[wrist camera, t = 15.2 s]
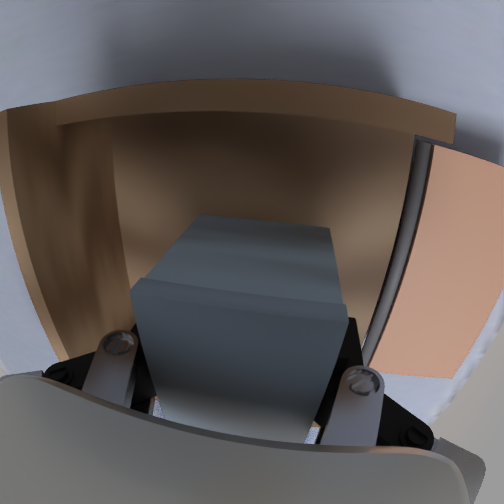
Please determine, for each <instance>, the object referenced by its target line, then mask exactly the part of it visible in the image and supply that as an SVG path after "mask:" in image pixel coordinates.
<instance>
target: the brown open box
mask: <svg viewBox="0 0 504 504" xmlns="http://www.w3.org/2000/svg"><path fill="white" fill-rule="evenodd" d="M455 124H456V114H455V113H452V112H449V111H446V110H443V109H439V108H436V107H433V106H429V105H426V104H422V103H418V102H415V101H411V100H407V99H403V98H398V97H394V96H390V95H385V94H380V93H375V92H370V91H365V90H359V89H354V88H347V87H341V86H334V85H326V84H318V83H309V82H299V81H286V80H270V79H197V80H181V81H168V82H158V83H149V84H141V85H134V86H127V87H120V88H114V89H108V90H103V91H98V92H93V93H88V94H83V95H79V96H74V97H70V98H66V99H62V100H58V101H54V102H46V103H39V104H33V105H27V106H21V107H16V108H11V109H6V110H4V111H1V112H0V189H1V194H2V200H3V205H4V210H5V214H6V219H7V223H8V227H9V231H10V235H11V239H12V243H13V246H14V250H15V253H16V256H17V260H18V263H19V266H20V269H21V272H22V275H23V278H24V281H25V284H26V287H27V289H28V292H29V295H30V297H31V300H32V302H33V305H34V307H35V310H36V312H37V315H38V317H39V319H40V322H41V324H42V326H43V328H44V331H45V333H46V335H47V337H48V339H49V341H50V343H51V346H52V348H53V350H54V352H55V354H56V356H57V357H58V359H59V361H60V362H62V361H65V360H68V359H72V358H75V357H78V356H81V355H85V354H88V353H91V352H94V351H96V350H97V348H98V345H99V342H100V341H101V339H102V338H103V337H104V336H105V335H106V334H108V333H110V332H112V331H115V330H128V331H131V329H132V328H133V326H134V325H135V323H136V320H135V316H134V312H133V307H132V303H131V298H130V293H129V291H130V290H131V288H132V287H133V286H134V285H135V284H136V282H137V281H138V280H139V279H140V278H141V277H142V278H145V276H146V275H147V274H148V273H149V272H150V270H151V269H152V268H153V267H154V266H155V265H156V263H157V262H158V261H159V260H160V259H161V258H162V257H163V255H164V254H165V253H166V252H167V251H168V250H169V248H170V247H171V246H172V245H173V244H174V243H175V242H176V241H177V239H178V238H179V237H180V236H181V235H182V234H183V233H184V232H185V230H186V229H187V228H188V227H189V226H190V225H191V224H192V223H193V222H194V221H195V219H196V218H197V217H198V216H199V215H212V216H223V217H233V218H244V219H254V220H264V221H274V222H283V223H292V224H301V225H310V226H319V227H327V228H330V233H331V238H332V243H333V248H334V253H335V259H336V264H337V270H338V275H339V281H340V287H341V294H342V300H343V304H346V307H347V313H348V317H354V318H355V319H356V322H357V327H358V333H359V339H360V344H361V346H362V343H363V340H364V338H365V335H366V332H367V330H368V327H369V324H370V321H371V318H372V315H373V313H374V310H375V307H376V304H377V301H378V297H379V294H380V291H381V288H382V285H383V281H384V278H385V275H386V271H387V268H388V264H389V261H390V257H391V253H392V250H393V246H394V242H395V238H396V234H397V230H398V226H399V221H400V217H401V212H402V208H403V203H404V198H405V193H406V188H407V182H408V177H409V171H410V165H411V159H412V152H413V145H414V137H415V135H420V136H424V137H427V138H431V139H435V140H439V141H442V142H446V143H449V144H453V140H454V132H455ZM155 400H158V397H157V396H155ZM311 427H320V426H319V425H318V424H317V423H316V422H315V421H313V423H312V426H311Z"/></svg>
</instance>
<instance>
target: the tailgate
mask: <svg viewBox="0 0 504 504" xmlns="http://www.w3.org/2000/svg"><path fill="white" fill-rule="evenodd" d="M503 287H504V167H503V166H501V165H498V164H495V163H493V162H490V161H487V160H484V159H481V158H478V157H475V156H472V155H469V154H466V153H463V152H459V151H456V150H453V149H449V148H446V147H442V146H439V145H435V144H431V143H427V142H423V141H419V140H417V141H416V149H415V155H414V162H413V168H412V174H411V180H410V185H409V190H408V195H407V200H406V205H405V210H404V214H403V219H402V223H401V227H400V231H399V235H398V239H397V243H396V247H395V251H394V255H393V258H392V262H391V265H390V269H389V272H388V276H387V279H386V282H385V285H384V289H383V292H382V295H381V298H380V301H379V304H378V307H377V310H376V313H375V316H374V319H373V321H372V324H371V327H370V330H369V332H368V335H367V338H366V340H365V343H364V346H363V348H362V357H363V364H364V366H368V367H370V368H373V369H374V370H376V371H377V372H382V373H390V374H399V375H409V376H420V377H433V378H448V379H452V378H453V377H454V375H455V374H456V372H457V371H458V369H459V368H460V366H461V365H462V363H463V361H464V360H465V358H466V357H467V355H468V353H469V352H470V350H471V349H472V347H473V345H474V343H475V342H476V340H477V338H478V337H479V335H480V333H481V331H482V329H483V328H484V326H485V324H486V322H487V320H488V318H489V316H490V314H491V312H492V310H493V308H494V306H495V304H496V302H497V300H498V298H499V296H500V293H501V291H502V289H503Z"/></svg>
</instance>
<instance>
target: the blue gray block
mask: <svg viewBox="0 0 504 504" xmlns="http://www.w3.org/2000/svg"><path fill="white" fill-rule="evenodd" d="M129 293H130V298H131V303H132V307H133V312H134V316H135V320H136V324H137V328H138V332H139V336H140V340H141V344H142V347H143V351H144V355H145V358H146V362H147V365H148V369H149V372H150V375H151V378H152V382H153V385H154V388H155V391H156V394H157V397H158V400H159V403H160V406H161V409H162V412H163V415H164V417H165V419H166V420H169V421H173V422H177V423H181V424H185V425H189V426H193V427H197V428H202V429H206V430H211V431H216V432H221V433H226V434H232V435H238V436H244V437H250V438H257V439H264V440H272V441H281V442H291V443H303V444H304V442H305V439H306V437H307V435H308V433H309V430H310V428H311V426H312V423H313V421H314V418H315V416H316V414H317V411H318V409H319V406H320V404H321V401H322V399H323V396H324V393H325V391H326V388H327V385H328V383H329V380H330V377H331V375H332V372H333V369H334V366H335V363H336V360H337V358H338V355H339V352H340V349H341V346H342V343H343V339H344V336H345V333H346V330H347V327H348V324H349V319H348V313H347V307H346V304H343V300H342V294H341V287H340V281H339V275H338V270H337V264H336V259H335V253H334V248H333V243H332V238H331V233H330V228H327V227H319V226H310V225H301V224H292V223H283V222H274V221H264V220H254V219H244V218H233V217H223V216H212V215H199V216H198V217H197V218H196V219H195V221H194V222H193V223H192V224H191V225H190V226H189V227H188V228H187V229H186V230H185V232H184V233H183V234H182V235H181V236H180V237H179V238H178V239H177V241H176V242H175V243H174V244H173V245H172V246H171V247H170V248H169V250H168V251H167V252H166V253H165V254H164V255H163V257H162V258H161V259H160V260H159V261H158V262H157V263H156V265H155V266H154V267H153V268H152V269H151V270H150V272H149V273H148V274H147V275H146V276H145V278H142V277H141V278H140V279H139V280H138V281H137V282H136V284H135V285H134V286H133V287H132V288H131V290H130V291H129Z"/></svg>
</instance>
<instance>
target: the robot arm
mask: <svg viewBox="0 0 504 504" xmlns="http://www.w3.org/2000/svg"><path fill="white" fill-rule="evenodd" d="M348 319H349V324H348V327H347V330H346V333H345V336H344V339H343V343H342V346H341V349H340V352H339V355H338V358H337V360H336V363H335V366H334V369H333V372H332V375H331V377H330V380H329V383H328V385H327V388H326V391H325V393H324V396H323V399H322V401H321V404H320V406H319V409H318V411H317V414H316V416H315V418H314V421H315V422H316V423H317V424H318V425H319V426H320V428H319V431H318V434H317V437H316V440H315V442H314V444H303V443H291V442H281V441H272V440H264V439H257V438H250V437H244V436H238V435H232V434H226V433H221V432H216V431H211V430H206V429H202V428H197V427H193V426H189V425H185V424H181V423H177V422H173V421H169V420H166V419H162V418H159V417H155V416H153V409H154V402H155V396H157V394H156V391H155V388H154V385H153V382H152V378H151V375H150V372H149V369H148V365H147V362H146V358H145V355H144V351H143V347H142V344H141V340H140V336H139V332H138V328H137V324H136V323H135V325H134V326H133V328H132V329H131V331H128V330H115V331H112V332H110V333H108V334H106V335H105V336H104V337H103V338H102V339H101V341H100V342H99V345H98V348H97V350H96V351H94V352H91V353H88V354H85V355H81V356H78V357H75V358H72V359H68V360H65V361H62V362H58V363H56V364H53V365H52V366H50V367H49V368H48V369H47V370H46V371H45V373H43V371H42V370H40V371H33V372H27V373H20V374H12V375H6V376H2V377H1V378H0V504H473V503H474V501H475V499H476V496H477V494H478V492H479V489H480V487H481V484H482V481H483V479H484V476H485V471H486V467H485V463H484V461H483V460H482V459H481V458H480V457H479V456H477V455H475V454H473V453H471V452H469V451H467V450H465V449H463V448H461V447H458V446H457V445H455V444H453V443H451V442H449V441H447V440H445V439H443V438H441V437H440V438H439V439H436V438H434V436H433V432H432V430H431V429H430V427H429V426H427V425H426V424H425V423H424V422H422V421H421V420H420V419H418V418H417V417H416V416H414V415H413V414H411V413H410V412H409V411H407V410H406V409H405V408H403V407H402V406H400V405H399V404H398V403H396V402H395V401H394V400H392V399H391V398H390V397H388V396H387V395H386V394H384V387H385V385H384V380H383V378H382V376H381V375H380V374H379V373H378V372H377V371H376V370H374V369H373V368H370V367H368V366H364V364H363V357H362V351H361V344H360V339H359V333H358V327H357V322H356V319H355V318H354V317H348Z"/></svg>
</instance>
